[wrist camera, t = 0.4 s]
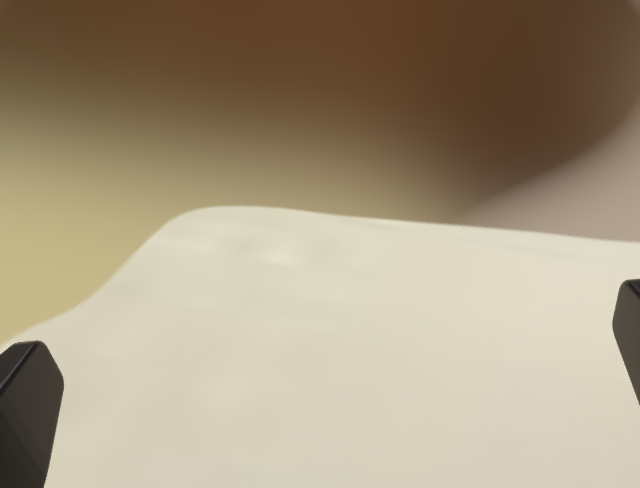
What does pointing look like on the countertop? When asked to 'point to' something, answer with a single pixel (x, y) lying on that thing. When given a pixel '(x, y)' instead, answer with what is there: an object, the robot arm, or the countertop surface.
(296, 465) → the countertop surface
